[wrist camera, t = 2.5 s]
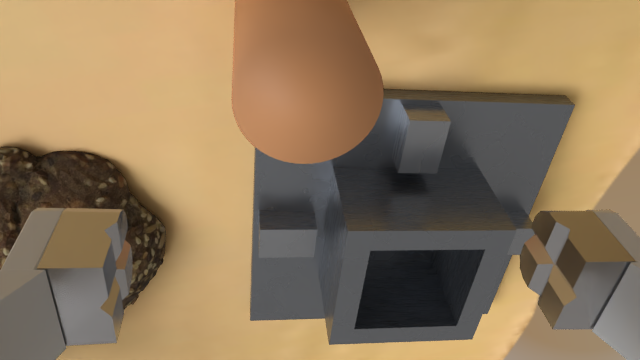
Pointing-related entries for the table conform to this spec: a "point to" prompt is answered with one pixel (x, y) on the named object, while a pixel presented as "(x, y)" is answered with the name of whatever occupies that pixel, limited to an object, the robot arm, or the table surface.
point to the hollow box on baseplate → (404, 217)
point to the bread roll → (76, 203)
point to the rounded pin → (303, 79)
